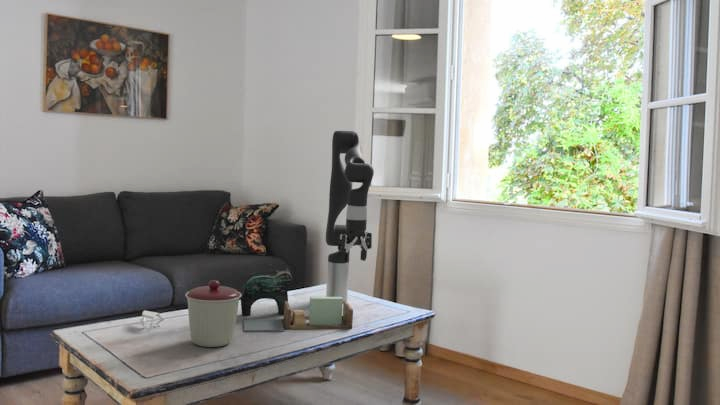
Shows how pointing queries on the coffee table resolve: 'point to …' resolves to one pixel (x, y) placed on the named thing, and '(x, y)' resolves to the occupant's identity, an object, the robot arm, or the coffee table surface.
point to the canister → (212, 314)
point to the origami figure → (152, 316)
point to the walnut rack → (346, 317)
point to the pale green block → (325, 310)
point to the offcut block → (298, 318)
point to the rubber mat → (263, 325)
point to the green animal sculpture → (266, 290)
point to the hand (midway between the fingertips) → (354, 261)
